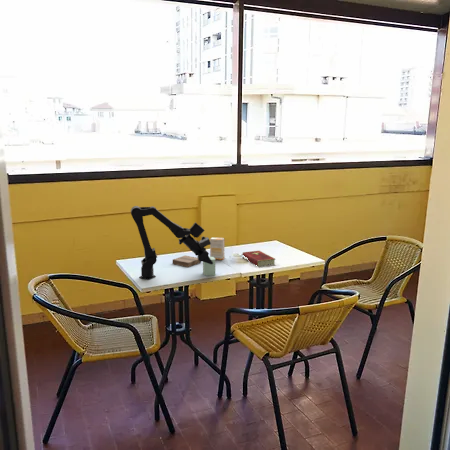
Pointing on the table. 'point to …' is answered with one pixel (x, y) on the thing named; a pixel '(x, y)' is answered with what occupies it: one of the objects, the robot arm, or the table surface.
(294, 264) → the table surface
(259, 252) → the hardcover book
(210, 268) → the sage block
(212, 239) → the supplement box
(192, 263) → the walnut block
